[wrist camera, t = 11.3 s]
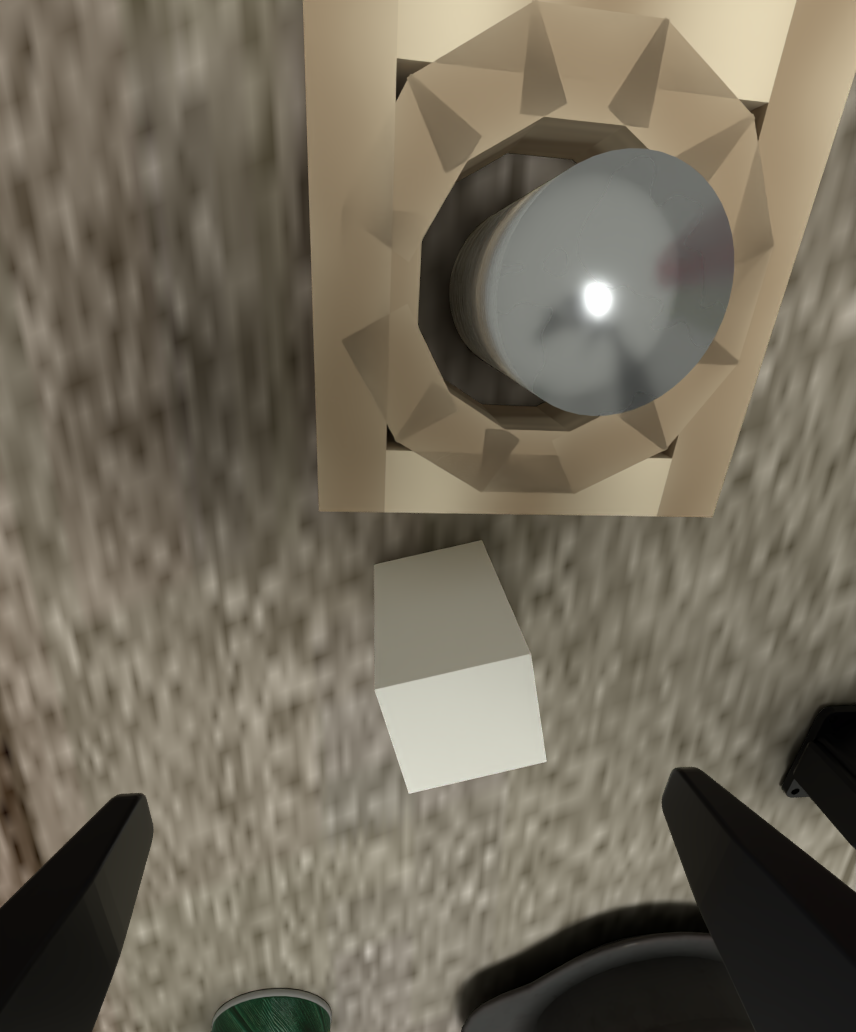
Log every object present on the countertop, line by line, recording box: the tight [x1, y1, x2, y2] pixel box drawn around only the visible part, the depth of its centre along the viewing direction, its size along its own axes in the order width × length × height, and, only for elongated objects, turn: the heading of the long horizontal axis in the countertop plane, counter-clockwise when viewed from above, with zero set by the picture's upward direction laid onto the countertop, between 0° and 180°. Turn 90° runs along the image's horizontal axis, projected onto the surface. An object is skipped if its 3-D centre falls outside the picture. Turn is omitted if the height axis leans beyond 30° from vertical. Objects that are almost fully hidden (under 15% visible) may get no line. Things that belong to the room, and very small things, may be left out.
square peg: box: [374, 540, 547, 793], centre depth 18 cm, size 4×4×7 cm
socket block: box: [303, 0, 856, 517], centre depth 15 cm, size 13×13×4 cm
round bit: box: [449, 148, 734, 416], centre depth 13 cm, size 5×5×7 cm
